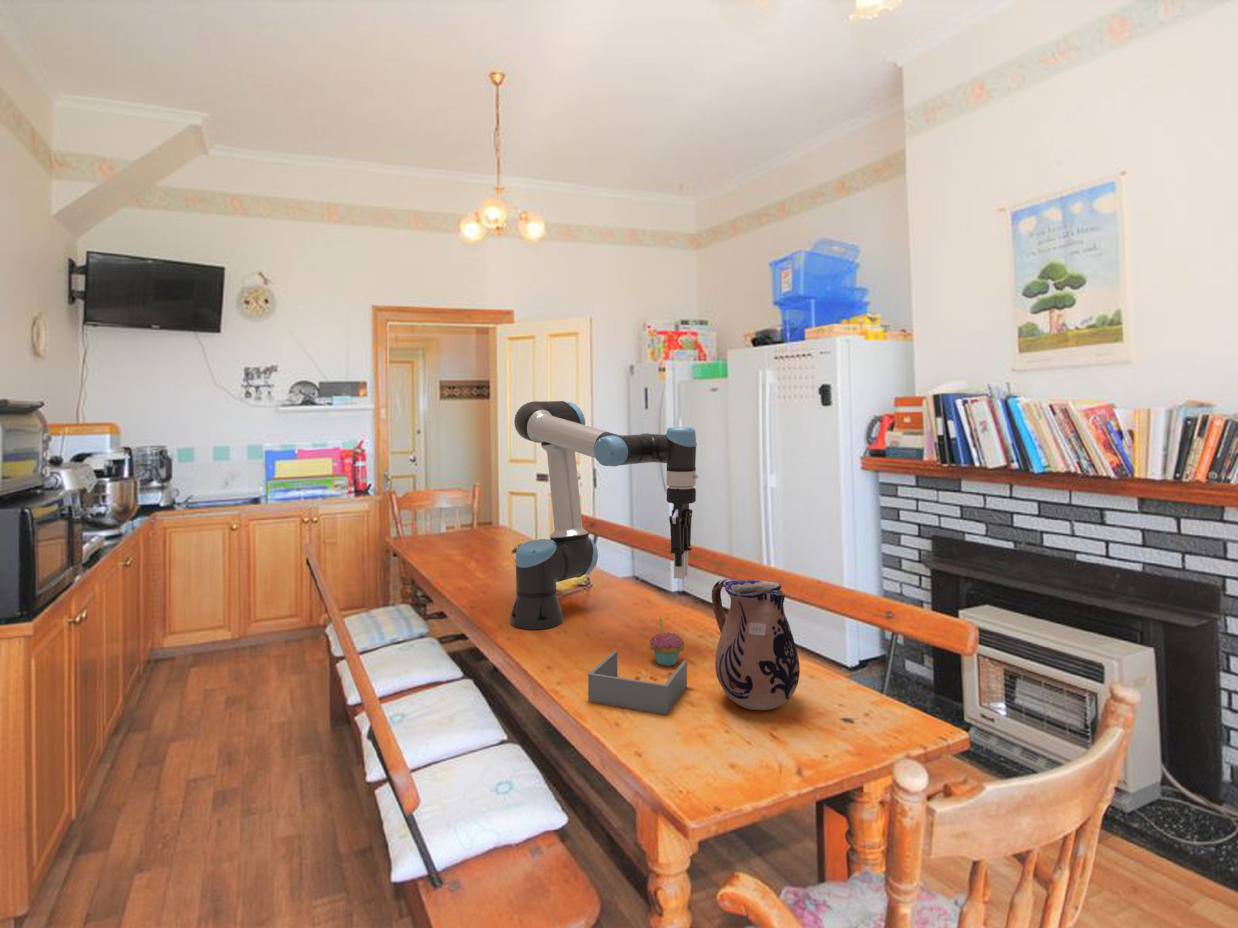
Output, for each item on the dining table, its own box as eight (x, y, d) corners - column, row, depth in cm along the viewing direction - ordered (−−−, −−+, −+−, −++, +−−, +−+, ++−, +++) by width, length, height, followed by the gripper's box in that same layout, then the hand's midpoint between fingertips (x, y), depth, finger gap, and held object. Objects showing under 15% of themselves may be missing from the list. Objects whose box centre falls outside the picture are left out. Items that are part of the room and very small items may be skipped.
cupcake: (660, 671, 160) (660, 621, 159) (643, 659, 168) (642, 612, 167) (690, 664, 164) (691, 616, 163) (672, 653, 172) (672, 607, 171)
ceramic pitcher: (773, 729, 131) (775, 603, 129) (685, 698, 145) (685, 584, 143) (813, 700, 144) (815, 585, 142) (729, 674, 158) (730, 569, 156)
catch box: (588, 701, 144) (588, 674, 143) (614, 675, 157) (614, 650, 157) (667, 714, 137) (667, 686, 137) (686, 687, 151) (687, 661, 150)
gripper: (687, 491, 165) (686, 585, 167) (702, 484, 179) (702, 571, 181) (657, 489, 168) (657, 582, 170) (675, 483, 182) (675, 568, 184)
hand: (680, 576), depth 175 cm, fingers open, 2 cm apart
